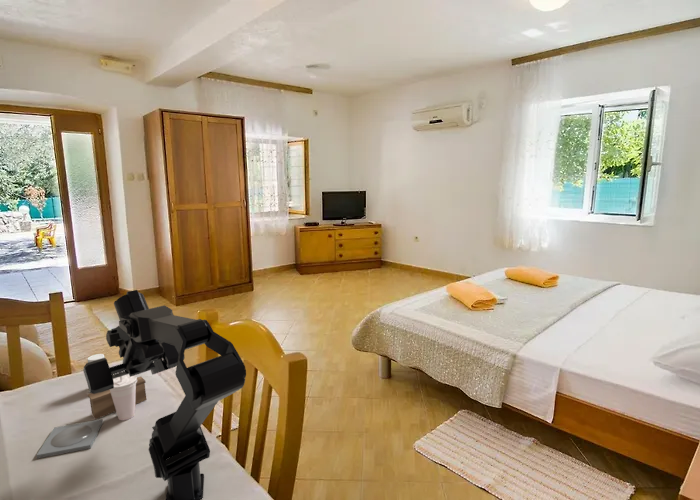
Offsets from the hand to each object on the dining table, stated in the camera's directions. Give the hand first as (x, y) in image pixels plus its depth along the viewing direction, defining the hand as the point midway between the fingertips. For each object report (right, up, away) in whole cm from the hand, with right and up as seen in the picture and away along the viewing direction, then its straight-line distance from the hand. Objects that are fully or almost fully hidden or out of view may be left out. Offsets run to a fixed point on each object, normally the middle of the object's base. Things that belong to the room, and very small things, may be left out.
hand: (131, 379), depth 91 cm
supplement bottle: (-21, -10, +21) cm, 31 cm away
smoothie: (-6, -12, +9) cm, 16 cm away
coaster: (-14, -14, 0) cm, 19 cm away
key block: (-10, -11, +12) cm, 19 cm away
